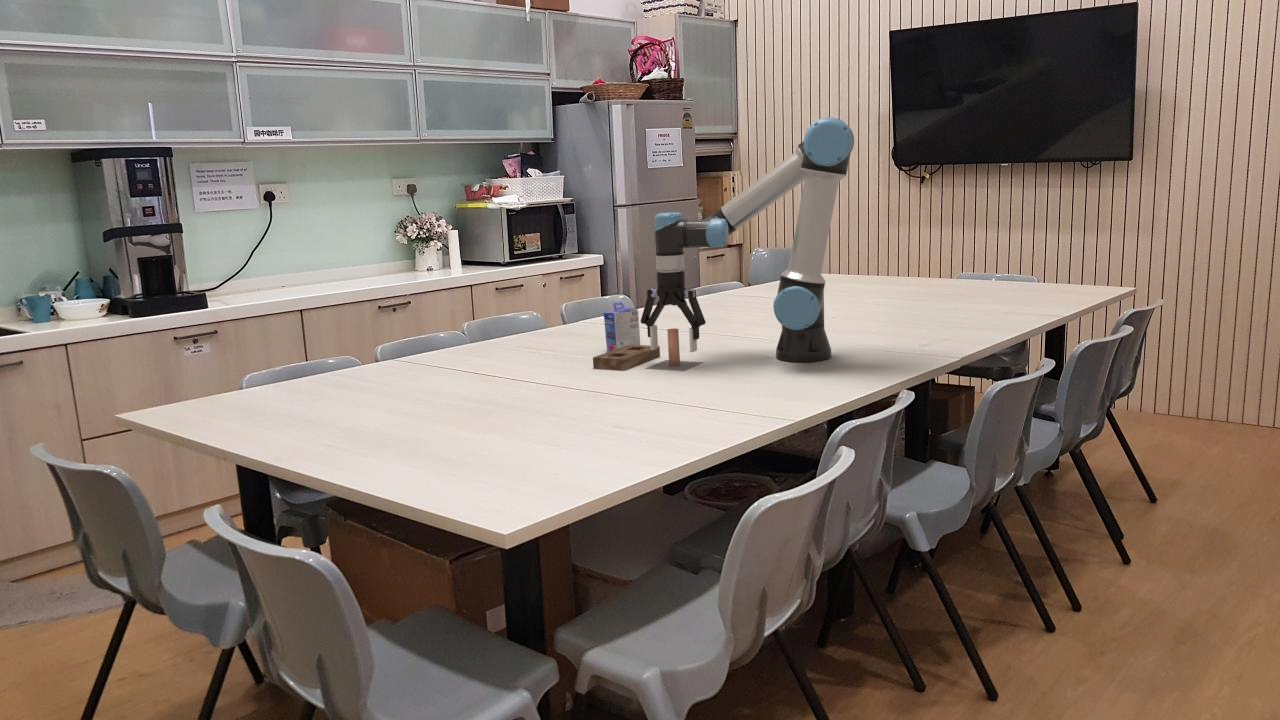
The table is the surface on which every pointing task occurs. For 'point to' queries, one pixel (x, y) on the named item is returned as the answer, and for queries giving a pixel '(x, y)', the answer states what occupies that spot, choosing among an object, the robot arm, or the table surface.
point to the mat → (665, 366)
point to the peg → (673, 347)
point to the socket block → (625, 357)
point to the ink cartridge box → (621, 327)
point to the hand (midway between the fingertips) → (673, 350)
